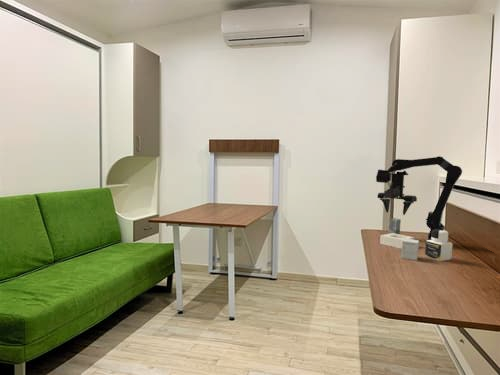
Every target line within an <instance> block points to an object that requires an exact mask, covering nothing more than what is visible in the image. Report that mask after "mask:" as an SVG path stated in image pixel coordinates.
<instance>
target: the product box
mask: <svg viewBox="0 0 500 375" xmlns="http://www.w3.org/2000/svg"><path fill="white" fill-rule="evenodd" d="M419 245H420V240H418V239H414V240H413V239H405V238H404V239H403V242H402V249H401V254H400V255H401V256H400V258H401V259H405V260H406V259H407V260H413V261H418V256H419V255H418V254H419Z"/></svg>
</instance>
